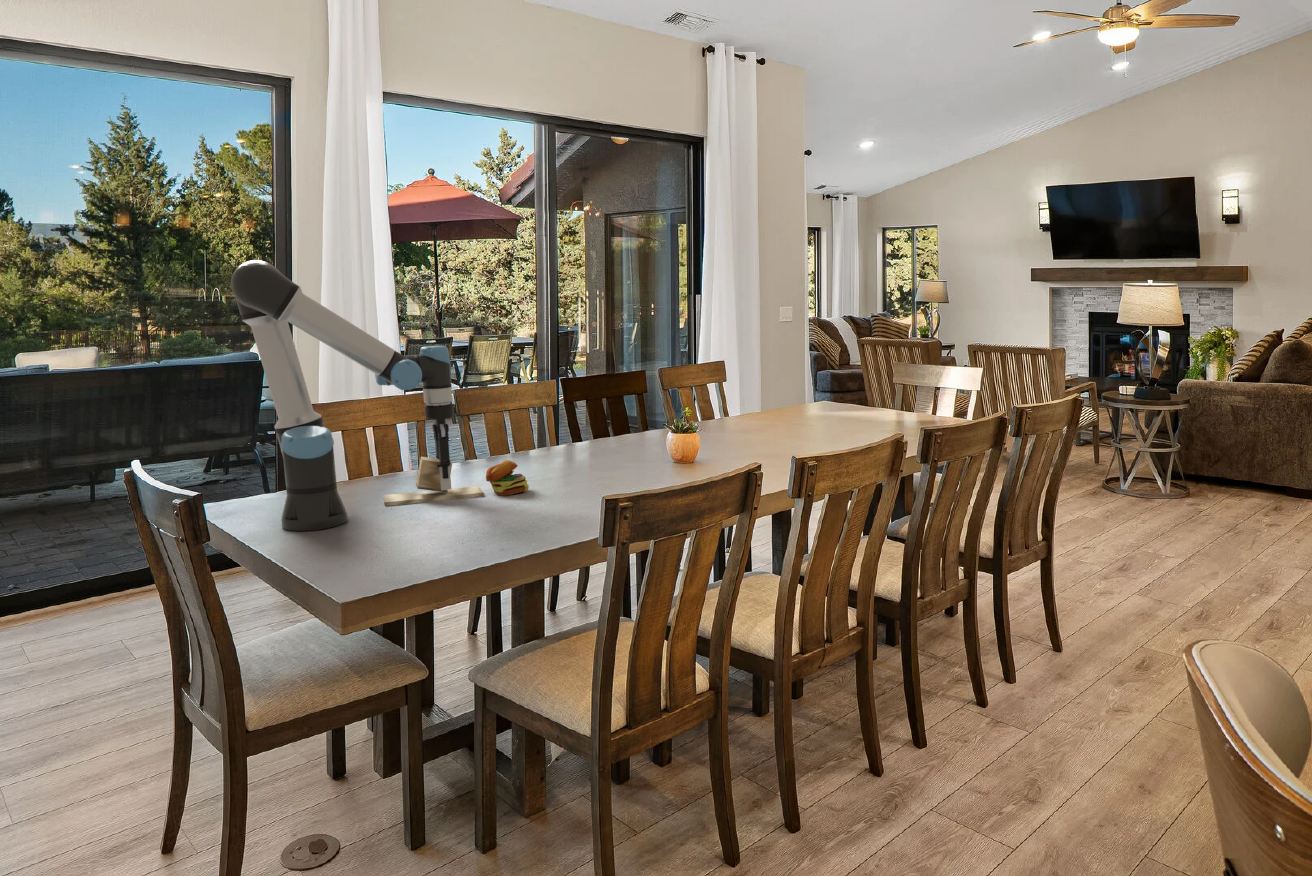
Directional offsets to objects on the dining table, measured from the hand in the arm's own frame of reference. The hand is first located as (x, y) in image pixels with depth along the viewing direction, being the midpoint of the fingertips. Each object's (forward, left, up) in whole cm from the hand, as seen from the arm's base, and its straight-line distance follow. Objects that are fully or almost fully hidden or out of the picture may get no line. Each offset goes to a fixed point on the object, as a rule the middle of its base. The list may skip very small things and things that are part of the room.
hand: (445, 487), depth 252 cm
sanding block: (-4, 0, 0) cm, 4 cm away
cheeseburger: (+17, -3, -3) cm, 17 cm away
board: (-3, 0, -2) cm, 4 cm away
